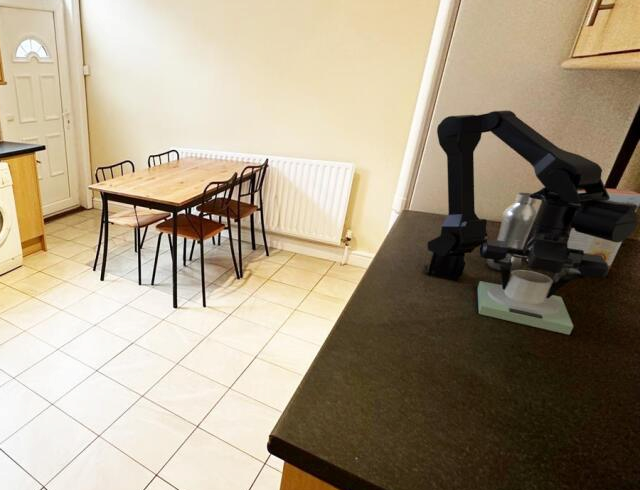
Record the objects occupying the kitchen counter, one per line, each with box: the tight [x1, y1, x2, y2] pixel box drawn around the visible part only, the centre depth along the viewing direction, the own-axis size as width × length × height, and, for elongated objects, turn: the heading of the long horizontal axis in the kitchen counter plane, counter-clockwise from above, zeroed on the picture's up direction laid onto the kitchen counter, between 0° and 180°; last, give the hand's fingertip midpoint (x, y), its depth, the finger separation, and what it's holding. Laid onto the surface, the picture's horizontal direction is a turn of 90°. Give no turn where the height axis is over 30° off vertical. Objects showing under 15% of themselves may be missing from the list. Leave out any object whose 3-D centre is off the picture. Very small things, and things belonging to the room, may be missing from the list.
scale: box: [477, 280, 574, 336], centre depth 89 cm, size 14×14×3 cm
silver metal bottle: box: [486, 192, 537, 272], centre depth 104 cm, size 6×7×20 cm
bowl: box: [504, 269, 553, 304], centre depth 88 cm, size 7×7×5 cm
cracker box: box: [526, 188, 640, 276], centre depth 103 cm, size 14×6×21 cm, turn 65°
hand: (524, 293), depth 89 cm, fingers closed on bowl, 7 cm apart
